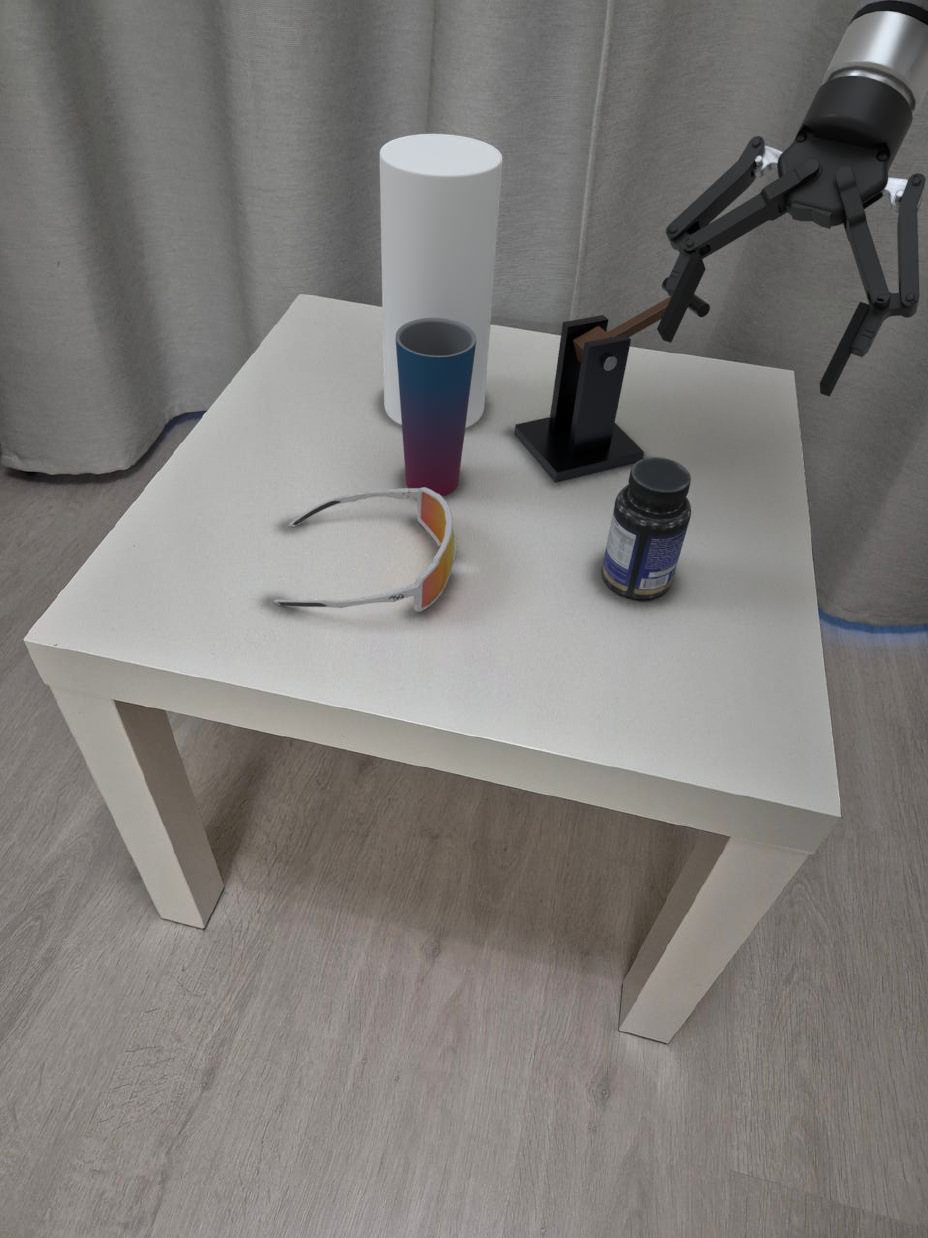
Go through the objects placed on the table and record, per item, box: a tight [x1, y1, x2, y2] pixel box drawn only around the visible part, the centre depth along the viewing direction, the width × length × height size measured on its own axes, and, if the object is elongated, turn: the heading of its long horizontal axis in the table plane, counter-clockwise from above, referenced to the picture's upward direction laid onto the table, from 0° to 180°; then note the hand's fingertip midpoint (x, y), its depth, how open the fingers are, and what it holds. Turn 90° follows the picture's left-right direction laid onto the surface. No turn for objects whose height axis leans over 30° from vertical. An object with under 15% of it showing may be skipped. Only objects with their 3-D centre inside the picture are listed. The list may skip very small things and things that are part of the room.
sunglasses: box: [273, 487, 458, 613], centre depth 74 cm, size 14×15×5 cm
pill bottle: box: [601, 456, 692, 600], centre depth 72 cm, size 6×6×11 cm
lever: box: [573, 276, 711, 363], centre depth 82 cm, size 12×6×2 cm, turn 115°
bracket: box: [513, 314, 645, 483], centre depth 85 cm, size 10×9×13 cm
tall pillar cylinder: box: [379, 133, 503, 429], centre depth 85 cm, size 11×11×25 cm
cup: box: [395, 318, 476, 497], centre depth 79 cm, size 7×7×15 cm
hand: (741, 362), depth 70 cm, fingers open, 13 cm apart
